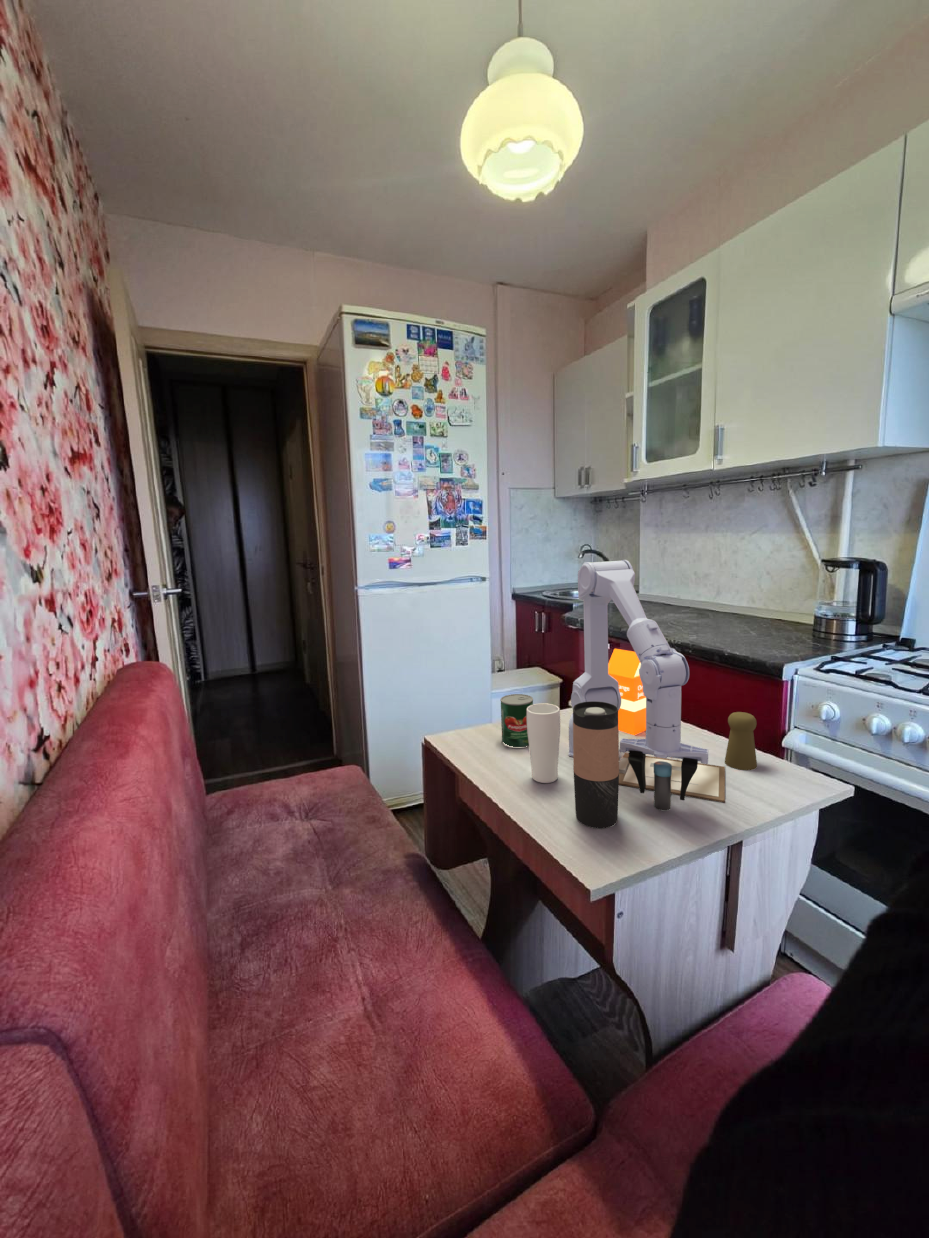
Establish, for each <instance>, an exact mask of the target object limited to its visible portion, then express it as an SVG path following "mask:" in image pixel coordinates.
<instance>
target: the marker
mask: <svg viewBox="0 0 929 1238" xmlns="http://www.w3.org/2000/svg"><path fill="white" fill-rule="evenodd" d="M671 775H672V765H671V764H670V763H668V762H664V761H657V762H655V763H654V791H653V807H654V808H655V809H656V810H658V811H662V812H665V811H666V812H667V811H670V810H671V806H672V805H671V804H672V802H671V801H672V799H671V798H672V794H671Z"/></svg>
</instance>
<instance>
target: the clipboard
mask: <svg viewBox="0 0 929 1238" xmlns="http://www.w3.org/2000/svg"><path fill="white" fill-rule="evenodd" d="M623 753H624V752H623ZM628 757H629V752H625V753H624V754H623V756H622V757H620V758H619V786H623V787H628V788H629V787H630V788H636V789H640V788H639V784H638V780H637V777H636V775H635V772H634V770H633V768H632V767H631V765H630V763H629V761H628ZM657 761H664V762H668V763H670V764H671V765H672V775H671V795H676V796H680V791H681V764H682V760H681V759H679V760H678V759H674V758H658V757H655V756H653V755H652V756H651V755H646V758H645V778H646V789H645V791H653V792H654V763H655V762H657ZM725 768H726V767H725V766H723V765H722V766H721V765H717V764H716V765H715V764H709V763H708V764H703V763H701V762H698V765H697V770H696V772H695V773H694V775H693V777H692V778H691V780H690V782H689V784H688V787H687V790H686V793H685V797H688V798H693V799H694V798H695V799H700V800H705V801H706V800H707V801H711V802H712V801H713V802H719V803H725V802H726V801H725V799H726V798H725V797H726V796H725V790H726V787H725V786H726V785H725V784H726V780H725V779H726V774H725V773H726V771H725V770H726V769H725Z"/></svg>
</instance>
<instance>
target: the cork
mask: <svg viewBox="0 0 929 1238" xmlns="http://www.w3.org/2000/svg"><path fill="white" fill-rule="evenodd" d="M727 723H728V726H729V729H730V731H729V735H728V741H727V746H726V752H725V757H724V764H725V765H726V766H727V767H729V768H731V769H736V770H739V771H753V770H754V771H755V770H756V769H757V768H758V761H757V754H756V753H757V752H756V745H755V744H756V743H755V736H754V735H755V734H754V731H755V730H756V727H757V719H756V718H755V716H754V715H752V714H751V713H748V712H744V711H743V712H742V711H736V712H732V713H730V714H729V716H728V717H727Z"/></svg>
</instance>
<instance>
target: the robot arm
mask: <svg viewBox="0 0 929 1238" xmlns="http://www.w3.org/2000/svg"><path fill="white" fill-rule="evenodd" d="M635 580H636V573H635V571H634V566H632V563H631V562H630V561H629V560H628V559H622V560H613V561H611V560H610V561H609V560H608V561H594V562H590V561H584V562H583V563H582V565H581V566H580V567H579V570H578V572H577V593H578V594H577V595H578V599H579V600H581V601H583V640H584V641H583V642H584V643H583V644H584V645H583V646H584V647H583V648H584V650H583V651H584V672H583V673H582V674H581V675H580V676H579V677H577V678H576V679H574V681H573V682H572V683H573V684H572V691H571V692H572V693H571V695H570V704H571V707H572V709H573V707H574V706H575V705H576V704H578V703H582V702H591V701H596V702H605V703H609V704H612V705H614V706H616V707H617V708H618V711H619V709H620V707H621V695H620V692H619V684H618V681H617V680H616V679H615V678H613V677H612V676H610V675H609V674H608V663H609V626H608V624H609V622H608V621H609V620H608V613H609V611H608V604H609V603H610V602H611V601H612V602H613V603H614V605H615V606H616V607H617V610H618V612H619V613H620V615H621V616H622V618H623V620H624V621H625V622H626V624H627V625H628V629H627V631H626V637H627V639H628V641H629V643H630V645H631V647H632V650H633V652H635V653H636V655H637V657H638V659H639V661H640V663H641V666H640V669H639V675H640V679H641V682H642V685H643V693H644V696H645V697H646V731H645V738H624V737H623V738H621V739H620V741H619V752H620V753H629V757H628V761H629V763H630V765H631V767H632V768H633V770H634V772H635V775H636V777H637V780H638V784H639V788H638V789H639V793H640V794H645V792H646V778H645V758H646V756H647V755H648V756H651V755H652V756H653V757H658V758H666V759H668V758H670V759H677V760H678V759H679V760H681V761H682V764H681V791H680V795H679V800H680V801H685V800H686V799H685V798H686V796H685V793H686V790H687V787H688V784H689V782H690V780H691V778H692V777H693V775H694V773H695V772H696V770H697V765H698V763H702V764H709V749H708V748H703V747H698V746H693V745H689V744H685V743H682V741H681V736H682V735H681V731H682V729H681V728H682V726H681V725H682V721H681V720H682V686H685V685H686V684H687V683H688V681H689V679H690V667H689V664H688V661H687V659H686V657H685V656H684V655H683V654H682V653H681V652H678V651H677V650H676V648H674V647H671V646H670V644H669V643H668V641H667V639H666V638H665V635H664V634H663V631H662V630H661V629H660V626H659V625H658V623H657V621H656V620H654V619H650V618H647V616H646V612H645V610H644V608H643V606H642V603H641V601H640V599H639V596H638V594H637V592H636V589H635V582H636V581H635ZM568 756H569V757H573V712H572V713H571V715H570V717H569V721H568Z"/></svg>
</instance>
